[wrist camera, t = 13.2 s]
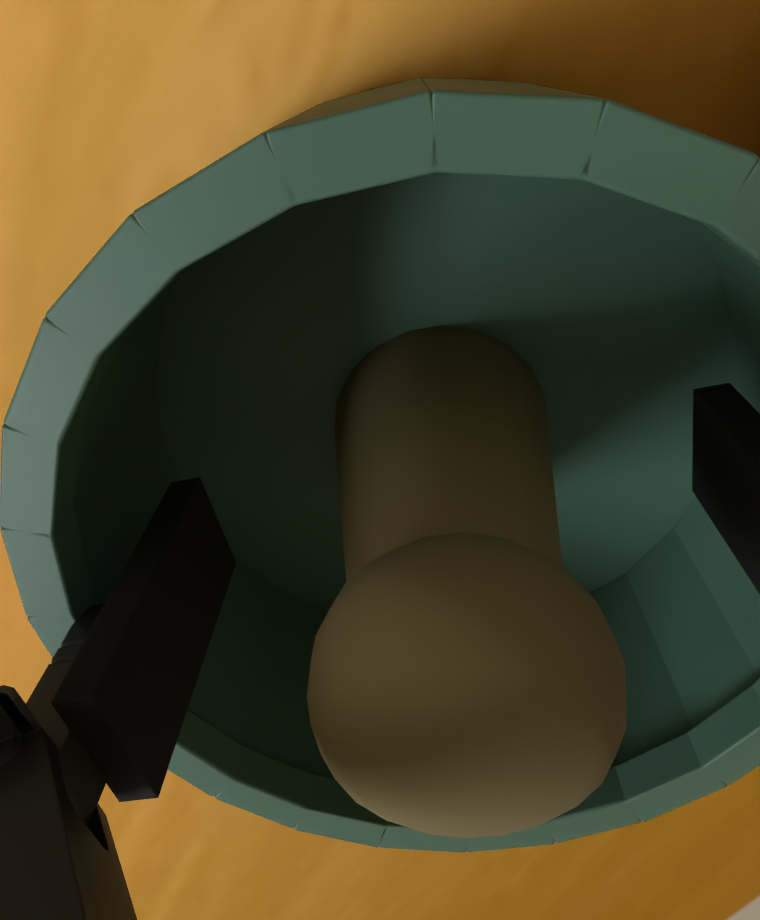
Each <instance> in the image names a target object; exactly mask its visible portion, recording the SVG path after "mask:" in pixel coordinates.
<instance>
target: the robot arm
mask: <svg viewBox="0 0 760 920" xmlns="http://www.w3.org/2000/svg"><path fill="white" fill-rule="evenodd" d="M692 491H693V493H694V494H695V496H696V497H697V499H698V501H699V502H700V504H701V505H702V507H703V508H704V510H705V511H706V513H707V514H708V516H709V517H710V519H711V521H712V522H713V524H714V525H715V527H716V528H717V530H718V531H719V533H720V534H721V536H722V537H723V539H724V540H725V542H726V544H727V545H728V547H729V548H730V550H731V551H732V553H733V554H734V556H735V557H736V559H737V560H738V562H739V563H740V565H741V567H742V568H743V570H744V571H745V573H746V574H747V576H748V577H749V579H750V580H751V582H752V583H753V585H754V586H755V588H756V590H757V591H758V593H759V594H760V413H759V412H758V411H757V410H756V409H755V408H754V407H753V406H752V405H751V404H750V403H749V402H748V401H747V400H746V399H745V398H744V397H743V396H742V395H741V394H740V393H739V392H738V391H737V390H736V389H735V388H734V387H733V386H732V385H731V384H730V383H725V384H719V385H714V386H708V387H703V388H697V389H693V456H692ZM235 565H236V561H235V559H234V556H233V554H232V552H231V549H230V547H229V545H228V542H227V540H226V537H225V535H224V533H223V530H222V528H221V526H220V523H219V521H218V519H217V516H216V514H215V512H214V509H213V507H212V505H211V502H210V500H209V497H208V495H207V493H206V490H205V488H204V486H203V483H202V481H201V479H200V477H199V478H193V479H188V480H182V481H176V482H171V483H170V485H169V487H168V489H167V491H166V492H165V494H164V496H163V498H162V500H161V502H160V503H159V505H158V507H157V509H156V511H155V513H154V514H153V516H152V518H151V520H150V522H149V524H148V525H147V527H146V529H145V531H144V533H143V535H142V536H141V538H140V540H139V542H138V544H137V545H136V547H135V549H134V551H133V553H132V555H131V556H130V558H129V560H128V562H127V564H126V566H125V567H124V569H123V571H122V573H121V575H120V577H119V578H118V580H117V582H116V584H115V586H114V588H113V589H112V591H111V593H110V595H109V597H108V599H107V600H106V602H105V604H98V605H92V606H90V607H89V608H88V609H87V610H86V611H85V612H84V613H83V614H82V615H81V616H80V617H79V618H78V619H77V620H76V621H75V622H74V623H73V624H72V626H71V628H70V629H69V631H68V633H67V634H66V636H65V638H64V640H63V641H62V643H61V648H58V650H57V652H56V653H55V655H54V657H53V658H52V664H49V665H48V667H47V669H46V670H45V672H44V674H43V676H42V677H41V679H40V681H39V682H38V684H37V686H36V688H35V689H34V691H33V693H32V694H31V696H30V698H29V700H28V701H27V703H26V704H25V702H24V701H23V700H22V698H21V697H20V695H19V694H18V693H17V691H16V690H15V689H14V688H12V687H8V686H5V685H3V686H0V920H137V918H136V914H135V911H134V908H133V904H132V901H131V898H130V894H129V891H128V888H127V884H126V881H125V878H124V874H123V871H122V868H121V864H120V861H119V858H118V854H117V851H116V848H115V844H114V841H113V837H112V834H111V831H110V827H109V824H108V821H107V817H106V815H105V813H104V812H103V810H102V809H101V807H100V806H99V804H98V801H99V799H100V796H101V794H102V791H103V789H104V787H105V784H106V783H107V785H108V786H109V788H110V789H111V790H112V792H113V793H114V795H115V796H116V798H117V799H118V800H119V802H123V801H132V800H141V799H150V798H158V796H159V793H160V790H161V787H162V784H163V781H164V778H165V775H166V772H167V769H168V766H169V763H170V760H171V757H172V754H173V751H174V748H175V745H176V742H177V739H178V736H179V733H180V730H181V727H182V724H183V721H184V718H185V715H186V712H187V709H188V706H189V703H190V700H191V697H192V694H193V691H194V688H195V685H196V682H197V679H198V676H199V673H200V670H201V667H202V664H203V661H204V658H205V655H206V652H207V649H208V646H209V643H210V640H211V637H212V634H213V631H214V628H215V625H216V622H217V619H218V616H219V613H220V610H221V607H222V604H223V601H224V598H225V595H226V592H227V589H228V586H229V583H230V580H231V577H232V574H233V571H234V568H235Z"/></svg>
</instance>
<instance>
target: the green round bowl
mask: <svg viewBox="0 0 760 920" xmlns="http://www.w3.org/2000/svg"><path fill="white" fill-rule="evenodd" d="M437 326H449V327H456V328H463V329H470V330H477V331H480V332H482V333H484V334H486V335H488V336H490V337H492V338H494V339H496V340H498V341H500V342H502V343H504V344H506V345H509V346H510V347H511V348H512V349H513V350H514V351H515V352H516V353H517V354H518V355H519V356H520V357H521V358H522V359H523V360H524V361H525V362H526V363H527V364H528V365H529V366H530V367H531V368H532V370H533V372H534V374H535V376H536V378H537V381H538V383H539V385H540V387H541V389H542V391H543V394H544V396H545V401H546V411H547V421H548V430H549V440H550V450H551V459H552V469H553V479H554V489H555V498H556V508H557V518H558V527H559V537H560V547H561V557H562V566H563V568H564V569H565V570H567V571H568V572H569V573H570V574H571V575H572V576H574V577H575V578H576V579H577V580H578V581H579V582H580V583H581V584H582V585H583V586H584V587H585V589H586V590H587V591H588V592H589V594H590V595H591V596H592V597H593V598H594V600H595V601H596V602H597V603H598V605H599V607H600V609H601V611H602V613H603V615H604V617H605V619H606V621H607V623H608V625H609V627H610V629H611V631H612V633H613V635H614V637H615V640H616V642H617V645H618V647H619V650H620V653H621V655H622V658H623V660H624V663H625V672H626V731H625V734H624V736H623V739H622V741H621V744H620V747H619V749H618V752H617V754H616V757H615V759H614V761H613V763H612V765H611V767H610V769H609V771H608V773H607V775H606V777H605V779H604V781H603V783H602V784H601V785H600V786H599V787H598V788H597V789H595V790H594V791H593V792H592V793H591V794H590V795H589V796H588V797H587V798H586V799H585V800H584V801H583V802H582V803H580V804H579V805H578V806H577V807H575V808H573V809H571V810H569V811H567V812H565V813H563V814H561V815H560V816H558V817H556V818H554V819H552V820H550V821H548V822H546V823H544V824H541V825H539V826H536V827H533V828H529V829H525V830H521V831H518V832H514V833H510V834H506V835H503V836H491V837H477V838H459V837H449V836H440V835H431V834H427V833H424V832H421V831H418V830H414V829H411V828H408V827H405V826H402V825H399V824H395V823H392V822H389V821H386V820H385V819H383V818H381V817H380V816H378V815H376V814H375V813H373V812H371V811H370V810H368V809H366V808H364V807H363V806H361V805H359V804H358V803H356V802H355V801H354V800H353V798H352V797H351V796H350V795H349V794H348V793H347V792H346V791H345V790H344V788H343V787H342V786H341V785H340V784H339V783H338V782H337V781H336V780H335V778H334V777H333V775H332V773H331V771H330V770H329V768H328V766H327V764H326V762H325V761H324V759H323V757H322V755H321V753H320V750H319V747H318V744H317V741H316V738H315V736H314V733H313V730H312V727H311V724H310V716H309V709H308V702H307V690H308V681H309V672H310V664H311V658H312V652H313V647H314V641H315V635H316V634H317V632H318V630H319V628H320V626H321V624H322V622H323V620H324V619H325V617H326V615H327V613H328V611H329V610H330V608H331V606H332V604H333V603H334V601H335V599H336V598H337V596H338V594H339V593H340V591H341V589H342V588H343V586H344V584H345V583H346V572H345V559H344V546H343V534H342V521H341V508H340V496H339V483H338V470H337V457H336V445H335V432H334V426H335V417H336V408H337V399H338V397H339V395H340V393H341V391H342V389H343V387H344V385H345V383H346V381H347V379H348V377H349V375H350V373H351V371H352V370H353V369H354V368H355V367H356V366H357V365H358V364H359V363H360V362H361V361H362V360H363V359H364V358H365V357H366V356H367V355H368V354H369V353H370V352H371V351H372V350H373V349H374V348H375V347H377V346H379V345H381V344H383V343H385V342H387V341H389V340H391V339H393V338H395V337H397V336H399V335H401V334H403V333H405V332H407V331H413V330H419V329H425V328H431V327H437ZM725 383H730V384H731V385H732V386H733V387H734V388H735V389H736V390H737V391H738V392H739V393H740V394H741V395H742V396H743V397H744V398H745V399H746V400H747V401H748V402H749V403H750V404H751V405H752V406H753V407H754V408H755V409H756V410H757V411H758V412H759V413H760V158H759V157H758V156H757V154H756V153H754V152H751V151H748V150H746V149H743V148H740V147H738V146H735V145H732V144H730V143H727V142H724V141H722V140H719V139H716V138H713V137H711V136H708V135H705V134H703V133H700V132H697V131H695V130H692V129H689V128H687V127H684V126H681V125H678V124H676V123H673V122H670V121H668V120H665V119H662V118H660V117H657V116H654V115H651V114H649V113H646V112H643V111H641V110H638V109H635V108H633V107H630V106H627V105H625V104H622V103H619V102H616V101H614V100H611V99H606V98H601V97H596V96H591V95H586V94H580V93H575V92H570V91H565V90H560V89H555V88H550V87H545V86H539V85H534V84H529V83H524V82H512V81H491V80H476V79H449V78H428V77H424V78H422V80H421V79H420V78H416V79H412V80H408V81H404V82H400V83H396V84H392V85H389V86H385V87H379V88H374V89H370V90H367V91H364V92H361V93H357V94H353V95H349V96H345V97H342V98H338V99H334V100H330V101H326V102H323V103H321V104H318V105H317V106H315V107H313V108H311V109H309V110H307V111H305V112H303V113H301V114H299V115H297V116H295V117H293V118H291V119H289V120H287V121H285V122H283V123H281V124H279V125H277V126H275V127H273V128H271V129H269V130H267V131H265V132H263V133H261V134H260V135H258V136H256V137H255V138H253V139H251V140H250V141H248V142H246V143H245V144H243V145H242V146H240V147H238V148H237V149H235V150H233V151H232V152H230V153H228V154H227V155H225V156H223V157H222V158H220V159H219V160H217V161H215V162H214V163H212V164H210V165H209V166H207V167H205V168H204V169H202V170H200V171H199V172H197V173H196V174H194V175H192V176H191V177H189V178H187V179H186V180H184V181H182V182H181V183H179V184H177V185H176V186H174V187H173V188H171V189H169V190H168V191H166V192H164V193H163V194H161V195H159V196H158V197H156V198H154V199H153V200H151V201H149V202H148V203H146V204H145V205H143V206H141V207H140V208H138V209H136V210H135V211H134V212H133V214H131V215H129V216H128V217H127V219H126V220H125V221H124V222H123V223H122V224H121V226H120V227H119V228H118V229H117V230H116V231H115V233H114V234H113V235H112V236H111V237H110V238H109V240H108V241H107V242H106V243H105V244H104V246H103V247H102V248H101V249H100V250H99V251H98V253H97V254H96V255H95V256H94V257H93V258H92V260H91V261H90V262H89V263H88V264H87V265H86V267H85V268H84V269H83V270H82V271H81V272H80V274H79V275H78V276H77V277H76V278H75V280H74V281H73V282H72V283H71V284H70V285H69V287H68V288H67V289H66V290H65V291H64V292H63V294H62V295H61V296H60V297H59V298H58V299H57V301H56V302H55V303H54V304H53V305H52V306H51V308H50V309H49V310H48V311H47V313H46V317H45V318H44V319H43V321H42V323H41V326H40V328H39V331H38V334H37V336H36V339H35V341H34V344H33V347H32V349H31V352H30V354H29V357H28V359H27V362H26V365H25V367H24V370H23V372H22V375H21V378H20V380H19V383H18V385H17V388H16V391H15V393H14V396H13V398H12V401H11V403H10V406H9V409H8V411H7V414H6V416H5V419H4V425H3V426H2V447H1V484H0V526H1V533H2V537H3V540H4V543H5V546H6V550H7V553H8V556H9V560H10V563H11V566H12V570H13V573H14V576H15V580H16V583H17V586H18V590H19V593H20V596H21V599H22V603H23V606H24V609H25V613H26V615H27V616H28V621H29V622H30V624H31V625H32V627H33V628H34V630H35V631H36V633H37V634H38V636H39V638H40V639H41V641H42V642H43V644H44V645H45V647H46V648H47V650H48V651H49V653H50V654H51V656H52V658H53V657H54V655H55V653H56V652H57V650H58V648H61V643H62V641H63V640H64V638H65V636H66V634H67V633H68V631H69V629H70V628H71V626H72V624H73V623H74V622H75V621H76V620H77V619H78V618H79V617H80V616H81V615H82V614H83V613H84V612H85V611H86V610H87V609H88V608H89V607H90V606H92V605H98V604H105V602H106V600H107V599H108V597H109V595H110V593H111V591H112V589H113V588H114V586H115V584H116V582H117V580H118V578H119V577H120V575H121V573H122V571H123V569H124V567H125V566H126V564H127V562H128V560H129V558H130V556H131V555H132V553H133V551H134V549H135V547H136V545H137V544H138V542H139V540H140V538H141V536H142V535H143V533H144V531H145V529H146V527H147V525H148V524H149V522H150V520H151V518H152V516H153V514H154V513H155V511H156V509H157V507H158V505H159V503H160V502H161V500H162V498H163V496H164V494H165V492H166V491H167V489H168V487H169V485H170V483H171V482H176V481H182V480H188V479H193V478H199V477H200V479H201V481H202V483H203V486H204V488H205V490H206V493H207V495H208V497H209V500H210V502H211V505H212V507H213V509H214V512H215V514H216V516H217V519H218V521H219V523H220V526H221V528H222V530H223V533H224V535H225V537H226V540H227V542H228V545H229V547H230V549H231V552H232V554H233V556H234V559H235V561H236V565H235V568H234V571H233V574H232V577H231V580H230V583H229V586H228V589H227V592H226V595H225V598H224V601H223V604H222V607H221V610H220V613H219V616H218V619H217V622H216V625H215V628H214V631H213V634H212V637H211V640H210V643H209V646H208V649H207V652H206V655H205V658H204V661H203V664H202V667H201V670H200V673H199V676H198V679H197V682H196V685H195V688H194V691H193V694H192V697H191V700H190V703H189V706H188V709H187V712H186V715H185V718H184V721H183V724H182V727H181V730H180V733H179V736H178V739H177V742H176V745H175V748H174V751H173V754H172V757H171V760H170V763H169V766H168V770H169V771H171V772H173V773H174V774H176V775H177V776H179V777H181V778H182V779H184V780H186V781H187V782H189V783H191V784H192V785H194V786H195V787H197V788H199V789H200V790H202V791H204V792H205V793H207V794H208V795H210V796H215V798H216V799H218V800H220V801H223V802H226V803H228V804H231V805H233V806H236V807H238V808H241V809H244V810H246V811H249V812H251V813H254V814H256V815H259V816H262V817H264V818H267V819H269V820H272V821H274V822H277V823H280V824H282V825H285V826H287V827H290V828H294V829H295V830H298V831H302V832H307V833H312V834H317V835H321V836H326V837H331V838H335V839H340V840H345V841H350V842H354V843H359V844H364V845H368V846H373V847H380V848H395V849H413V850H430V851H448V852H466V851H467V852H474V851H485V850H496V849H507V848H518V847H529V846H539V845H550V844H554V842H556V843H560V842H564V841H568V840H572V839H576V838H580V837H584V836H588V835H592V834H596V833H600V832H604V831H608V830H612V829H616V828H620V827H624V826H628V825H632V824H636V823H639V822H641V820H642V821H647V820H650V819H652V818H654V817H657V816H659V815H661V814H664V813H666V812H668V811H671V810H673V809H675V808H678V807H680V806H682V805H685V804H687V803H689V802H692V801H694V800H696V799H699V798H701V797H703V796H706V795H708V794H710V793H713V792H715V791H717V790H720V789H722V788H724V787H726V786H727V785H730V784H732V783H733V782H735V781H736V780H738V779H739V778H741V777H742V776H744V775H745V774H747V773H749V772H750V771H752V770H753V769H755V768H756V767H758V766H759V765H760V594H759V593H758V591H757V590H756V588H755V586H754V585H753V583H752V582H751V580H750V579H749V577H748V576H747V574H746V573H745V571H744V570H743V568H742V567H741V565H740V563H739V562H738V560H737V559H736V557H735V556H734V554H733V553H732V551H731V550H730V548H729V547H728V545H727V544H726V542H725V540H724V539H723V537H722V536H721V534H720V533H719V531H718V530H717V528H716V527H715V525H714V524H713V522H712V521H711V519H710V517H709V516H708V514H707V513H706V511H705V510H704V508H703V507H702V505H701V504H700V502H699V501H698V499H697V497H696V496H695V494H694V493H693V491H692V456H693V389H697V388H703V387H708V386H714V385H719V384H725Z"/></svg>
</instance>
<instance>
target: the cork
mask: <svg viewBox="0 0 760 920" xmlns="http://www.w3.org/2000/svg"><path fill="white" fill-rule="evenodd" d="M334 432H335V445H336V457H337V470H338V483H339V496H340V508H341V521H342V534H343V546H344V559H345V572H346V583H345V584H344V586H343V588H342V589H341V591H340V593H339V594H338V596H337V598H336V599H335V601H334V603H333V604H332V606H331V608H330V610H329V611H328V613H327V615H326V617H325V619H324V620H323V622H322V624H321V626H320V628H319V630H318V632H317V634H316V635H315V641H314V647H313V652H312V658H311V664H310V672H309V681H308V690H307V702H308V709H309V716H310V724H311V727H312V730H313V733H314V736H315V738H316V741H317V744H318V747H319V750H320V753H321V755H322V757H323V759H324V761H325V762H326V764H327V766H328V768H329V770H330V771H331V773H332V775H333V777H334V778H335V780H336V781H337V782H338V783H339V784H340V785H341V786H342V787H343V788H344V790H345V791H346V792H347V793H348V794H349V795H350V796H351V797H352V798H353V800H354V801H355V802H356V803H358V804H359V805H361V806H363V807H364V808H366V809H368V810H370V811H371V812H373V813H375V814H376V815H378V816H380V817H381V818H383V819H385V820H386V821H389V822H392V823H395V824H399V825H402V826H405V827H408V828H411V829H414V830H418V831H421V832H424V833H427V834H431V835H440V836H449V837H459V838H477V837H491V836H503V835H506V834H510V833H514V832H518V831H521V830H525V829H529V828H533V827H536V826H539V825H541V824H544V823H546V822H548V821H550V820H552V819H554V818H556V817H558V816H560V815H561V814H563V813H565V812H567V811H569V810H571V809H573V808H575V807H577V806H578V805H579V804H580V803H582V802H583V801H584V800H585V799H586V798H587V797H588V796H589V795H590V794H591V793H592V792H593V791H594V790H595V789H597V788H598V787H599V786H600V785H601V784H602V783H603V781H604V779H605V777H606V775H607V773H608V771H609V769H610V767H611V765H612V763H613V761H614V759H615V757H616V754H617V752H618V749H619V747H620V744H621V741H622V739H623V736H624V734H625V731H626V672H625V663H624V660H623V658H622V655H621V653H620V650H619V647H618V645H617V642H616V640H615V637H614V635H613V633H612V631H611V629H610V627H609V625H608V623H607V621H606V619H605V617H604V615H603V613H602V611H601V609H600V607H599V605H598V603H597V602H596V601H595V600H594V598H593V597H592V596H591V595H590V594H589V592H588V591H587V590H586V589H585V587H584V586H583V585H582V584H581V583H580V582H579V581H578V580H577V579H576V578H575V577H574V576H572V575H571V574H570V573H569V572H568V571H567V570H565V569H564V568H563V566H562V557H561V547H560V537H559V527H558V518H557V508H556V498H555V489H554V479H553V469H552V459H551V450H550V440H549V430H548V421H547V411H546V401H545V396H544V394H543V391H542V389H541V387H540V385H539V383H538V381H537V378H536V376H535V374H534V372H533V370H532V368H531V367H530V366H529V365H528V364H527V363H526V362H525V361H524V360H523V359H522V358H521V357H520V356H519V355H518V354H517V353H516V352H515V351H514V350H513V349H512V348H511V347H510V346H509V345H506V344H504V343H502V342H500V341H498V340H496V339H494V338H492V337H490V336H488V335H486V334H484V333H482V332H480V331H477V330H470V329H463V328H456V327H449V326H437V327H431V328H425V329H419V330H413V331H407V332H405V333H403V334H401V335H399V336H397V337H395V338H393V339H391V340H389V341H387V342H385V343H383V344H381V345H379V346H377V347H375V348H374V349H373V350H372V351H371V352H370V353H369V354H368V355H367V356H366V357H365V358H364V359H363V360H362V361H361V362H360V363H359V364H358V365H357V366H356V367H355V368H354V369H353V370H352V371H351V373H350V375H349V377H348V379H347V381H346V383H345V385H344V387H343V389H342V391H341V393H340V395H339V397H338V399H337V408H336V417H335V426H334Z"/></svg>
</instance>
